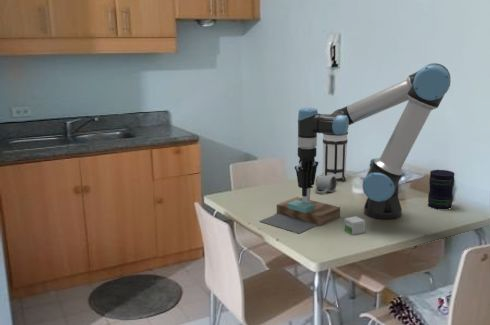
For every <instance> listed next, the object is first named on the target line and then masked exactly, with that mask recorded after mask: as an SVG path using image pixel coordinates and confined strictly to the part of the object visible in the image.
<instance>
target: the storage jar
mask: <svg viewBox="0 0 490 325" xmlns="http://www.w3.org/2000/svg"><path fill="white" fill-rule="evenodd" d="M428 183H429V192H428V197H427V202H428V204H427V206H428V207H429V208H430V207H431V208H430V209H433V208H434V210H438V209H448V210H450V209H449V208H451V207H452V205H453V201H454V199H453V198H454V197H453V196H454V195H453V191H454V190H453V189H454V186H455V172H453V171H450V170H447V169H433V170H430V172H429V182H428ZM451 209H452V208H451Z"/></svg>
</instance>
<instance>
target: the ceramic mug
mask: <svg viewBox="0 0 490 325" xmlns="http://www.w3.org/2000/svg"><path fill="white" fill-rule="evenodd" d="M337 184H338V183H337V179H336V177H335V176H325V175H323V174H322V175H318V176H317V177H316V178H315V192H316V194H318V195H323V194H326V193H327V192H328V193H334V192H335V190H336V188H337Z"/></svg>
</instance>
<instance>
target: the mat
mask: <svg viewBox="0 0 490 325" xmlns="http://www.w3.org/2000/svg"><path fill="white" fill-rule="evenodd" d="M258 221H259V223H261V224H262V223H263V224H266V225H268V226H269V225H270V226H272V227H275V228H278V229H282V230H285V231H288V232H292V233H294V232H295V234H297V235H298V234H299V235H300V234H302V233H304V232H307V231H309V230H311V229H312V228H315V227H317V226H319V225H318V224H314V223H311V222H307V221H303V220H300V219H296V218H293V217H289V216H286V215H282V214H279V213H278V214H277V213H276V214H273V215H272V216H268V217H267V218H264V219H261V220H258Z"/></svg>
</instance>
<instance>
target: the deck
mask: <svg viewBox="0 0 490 325" xmlns="http://www.w3.org/2000/svg"><path fill="white" fill-rule="evenodd" d="M296 200H299V201H302V197H299V196H295V197H292V198H290V199H288V200H285V201H281V202H280V203H277V204H276V214H278V213H279V214H282V215H286V216H289V217H293V218H296V219H300V220H303V221H307V222H311V223H314V224H318V225H317V226H319V227H322V226H323V225H325V224H327V223H330V222H331V221H333V220H335V219H338V218H340V217H341V207H340V206H336V205H333V204H328V203H324V202H320V201H316V200H313V199H310V204H314V205H315V207H314V210H312V211H309V212H307V213H304V212H300V211H296V210H293V209H289V208H288V203H290V202H293V201H296Z"/></svg>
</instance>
